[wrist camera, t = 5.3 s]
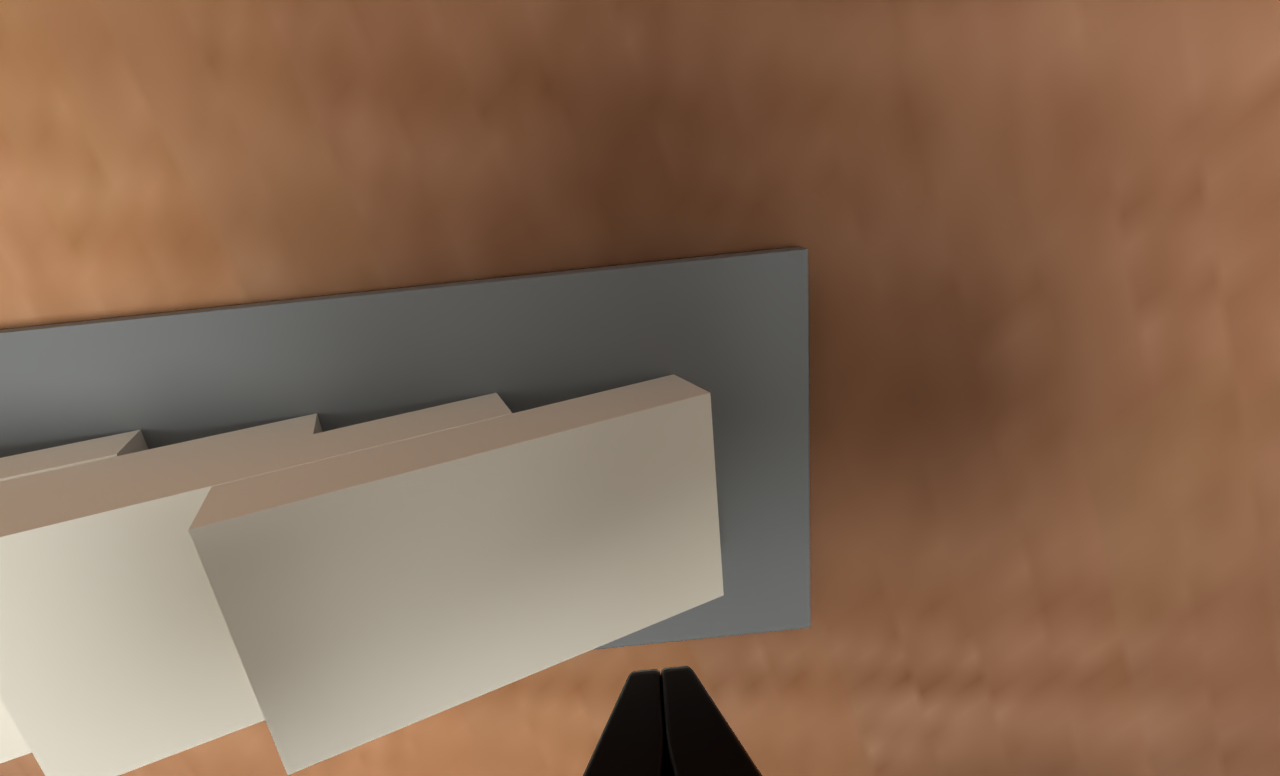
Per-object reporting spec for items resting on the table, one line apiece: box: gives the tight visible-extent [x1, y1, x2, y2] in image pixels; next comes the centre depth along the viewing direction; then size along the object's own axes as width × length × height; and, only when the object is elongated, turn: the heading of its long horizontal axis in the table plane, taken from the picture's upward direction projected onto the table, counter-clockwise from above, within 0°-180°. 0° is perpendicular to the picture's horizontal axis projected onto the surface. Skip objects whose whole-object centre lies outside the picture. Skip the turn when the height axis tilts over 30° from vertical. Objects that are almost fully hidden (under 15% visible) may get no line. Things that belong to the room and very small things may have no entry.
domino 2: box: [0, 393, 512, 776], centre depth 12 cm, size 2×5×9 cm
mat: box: [0, 246, 810, 650], centre depth 15 cm, size 26×10×1 cm, turn 96°
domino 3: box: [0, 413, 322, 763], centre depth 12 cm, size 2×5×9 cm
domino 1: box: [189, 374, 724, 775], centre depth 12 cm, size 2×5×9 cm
